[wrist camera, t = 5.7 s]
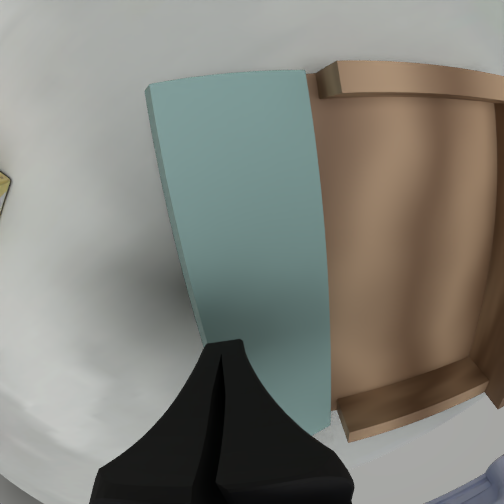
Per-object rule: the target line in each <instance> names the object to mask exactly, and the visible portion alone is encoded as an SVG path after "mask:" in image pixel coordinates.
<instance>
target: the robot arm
mask: <svg viewBox="0 0 504 504" xmlns="http://www.w3.org/2000/svg"><path fill="white" fill-rule="evenodd" d="M353 491H354V482H353V479H352V477H351V476H350V474H349V472H348V470H347V468H346V467H345V465H344V464H343V463H342V461H341V460H340V459H339V457H338V456H337V455H336V453H335V452H334V451H333V450H331V449H329V448H328V447H326V446H325V445H323V444H322V443H321V442H319V441H318V440H316V439H315V438H314V437H312V436H311V435H310V434H309V433H307V432H306V431H305V430H304V429H302V428H301V427H300V426H299V425H298V424H297V423H296V422H295V421H294V420H293V419H291V418H290V417H289V416H288V415H287V414H286V413H285V412H284V410H283V409H282V408H281V407H280V406H279V405H278V404H277V403H276V401H275V400H274V399H273V398H272V397H271V395H270V394H269V393H268V391H267V390H266V389H265V387H264V386H263V384H262V383H261V381H260V380H259V378H258V377H257V375H256V373H255V371H254V369H253V368H252V366H251V364H250V362H249V360H248V357H247V355H246V352H245V347H244V343H243V340H241V339H235V340H228V341H221V342H214V343H207V344H206V345H205V347H204V349H203V351H202V353H201V356H200V358H199V360H198V362H197V364H196V366H195V368H194V369H193V371H192V373H191V375H190V376H189V378H188V380H187V382H186V383H185V385H184V387H183V388H182V390H181V391H180V393H179V394H178V396H177V397H176V399H175V400H174V402H173V403H172V404H171V406H170V407H169V408H168V410H167V411H166V412H165V413H164V415H163V416H162V417H161V418H160V419H159V420H158V421H157V423H156V424H155V425H154V426H153V427H152V428H151V429H150V430H149V431H148V432H147V433H146V434H145V435H144V436H143V437H142V438H141V439H140V440H138V441H137V442H136V443H135V444H134V445H133V446H131V447H130V448H129V449H128V450H126V451H125V452H124V453H122V454H121V455H120V456H118V457H117V458H115V459H114V460H112V461H111V462H109V463H108V464H106V465H105V466H103V467H101V468H100V469H99V470H98V473H97V476H96V478H95V482H94V486H93V490H92V494H91V498H90V502H89V504H352V502H351V499H352V495H353ZM0 504H2V503H0ZM425 504H504V455H502V456H500V457H499V458H498V459H496V460H495V461H494V462H493V463H492V464H491V465H490V466H489V467H488V469H487V471H486V473H484V474H483V475H481V476H479V477H477V478H475V479H474V480H472V481H470V482H468V483H466V484H464V485H462V486H461V487H459V488H457V489H455V490H453V491H451V492H448V493H447V494H445V495H442V496H440V497H438V498H436V499H433V500H431V501H429V502H427V503H425Z"/></svg>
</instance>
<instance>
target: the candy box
mask: <svg viewBox="0 0 504 504" xmlns="http://www.w3.org/2000/svg"><path fill="white" fill-rule="evenodd" d="M9 184H10V179H9V178H7V177H6V176H5V175H3V174H2V173H1V172H0V213H1V210H2V206H3V202H4V199H5V196H6V193H7V190H8V187H9Z"/></svg>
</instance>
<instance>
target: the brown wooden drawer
mask: <svg viewBox="0 0 504 504" xmlns="http://www.w3.org/2000/svg"><path fill="white" fill-rule="evenodd" d="M306 79H307V85H308V92H309V98H310V105H311V112H312V119H313V126H314V133H315V141H316V149H317V157H318V166H319V175H320V184H321V194H322V204H323V215H324V227H325V240H326V253H327V269H328V287H329V309H330V342H331V411H333V410H337V412H338V415H339V418H340V420H341V423H342V426H343V429H344V432H345V435H346V438H347V441H348V443H350V442H353V441H357V440H361V439H364V438H368V437H371V436H374V435H378V434H381V433H384V432H387V431H390V430H393V429H396V428H399V427H402V426H405V425H408V424H411V423H414V422H416V421H419V420H422V419H424V418H427V417H429V416H432V415H434V414H437V413H439V412H442V411H444V410H446V409H449V408H451V407H453V406H456V405H458V404H460V403H462V402H465V401H467V400H469V399H471V398H473V397H475V396H477V395H479V394H481V393H483V392H485V393H486V395H487V396H488V397H489V398H490V400H491V401H492V402H493V404H494V405H495V406H496V408H497V409H499V408H501V407H503V406H504V76H500V75H495V74H490V73H485V72H480V71H474V70H468V69H462V68H455V67H447V66H439V65H430V64H420V63H408V62H392V61H336V62H334V63H332V64H330V65H329V66H327V67H325V68H323V69H322V70H320V71H318V72H317V73H314V74H306Z"/></svg>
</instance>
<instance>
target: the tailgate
mask: <svg viewBox="0 0 504 504" xmlns="http://www.w3.org/2000/svg"><path fill="white" fill-rule="evenodd" d="M145 96H146V102H147V108H148V114H149V120H150V126H151V131H152V137H153V142H154V147H155V153H156V158H157V163H158V168H159V173H160V177H161V182H162V187H163V191H164V196H165V201H166V205H167V210H168V214H169V218H170V223H171V227H172V231H173V235H174V239H175V244H176V248H177V252H178V256H179V260H180V264H181V267H182V271H183V275H184V279H185V283H186V286H187V290H188V294H189V298H190V301H191V305H192V308H193V312H194V315H195V319H196V322H197V326H198V329H199V333H200V336H201V339H202V343H203V346H204V347H205V345H206V344H207V343H214V342H221V341H228V340H235V339H241V340H243V343H244V347H245V352H246V355H247V357H248V360H249V362H250V364H251V366H252V368H253V369H254V371H255V373H256V375H257V377H258V378H259V380H260V381H261V383H262V384H263V386H264V387H265V389H266V390H267V391H268V393H269V394H270V395H271V397H272V398H273V399H274V400H275V401H276V403H277V404H278V405H279V406H280V407H281V408H282V409H283V410H284V412H285V413H286V414H287V415H288V416H289V417H290V418H291V419H293V420H294V421H295V422H296V423H297V424H298V425H299V426H300V427H301V428H302V429H304V430H305V431H306V432H307V433H309V434H310V435H311V436H312V435H314V434H315V433H317V432H319V431H321V430H322V429H324V428H326V427H328V426H329V425H330V421H331V342H330V309H329V287H328V269H327V253H326V240H325V227H324V215H323V204H322V194H321V184H320V175H319V166H318V157H317V149H316V141H315V133H314V126H313V119H312V112H311V105H310V98H309V92H308V85H307V79H306V73H305V70H273V71H253V72H238V73H227V74H216V75H207V76H199V77H191V78H184V79H177V80H171V81H165V82H159V83H154V84H149V86H148V87H147V89H146V90H145Z"/></svg>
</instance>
